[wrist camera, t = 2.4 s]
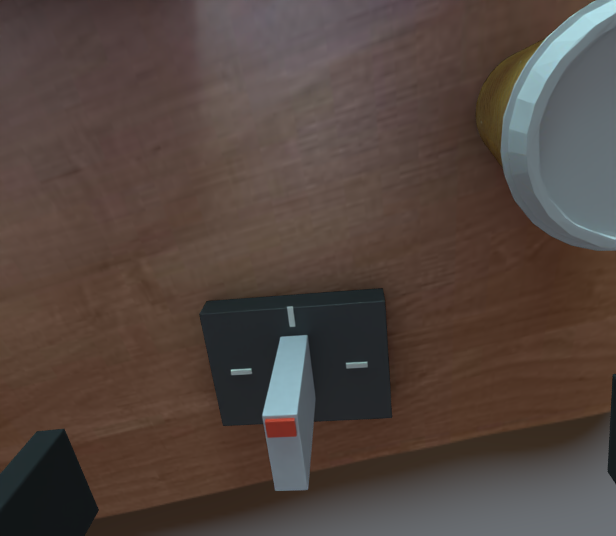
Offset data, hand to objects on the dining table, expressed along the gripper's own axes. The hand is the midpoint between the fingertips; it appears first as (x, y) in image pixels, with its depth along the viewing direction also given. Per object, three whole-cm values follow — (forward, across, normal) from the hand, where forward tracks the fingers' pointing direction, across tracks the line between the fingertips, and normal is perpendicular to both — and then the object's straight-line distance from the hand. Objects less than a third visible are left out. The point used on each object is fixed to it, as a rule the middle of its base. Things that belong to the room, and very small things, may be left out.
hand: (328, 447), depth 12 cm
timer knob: (+19, -4, -9) cm, 21 cm away
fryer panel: (+21, -4, -9) cm, 23 cm away
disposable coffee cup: (+21, +12, +5) cm, 24 cm away
